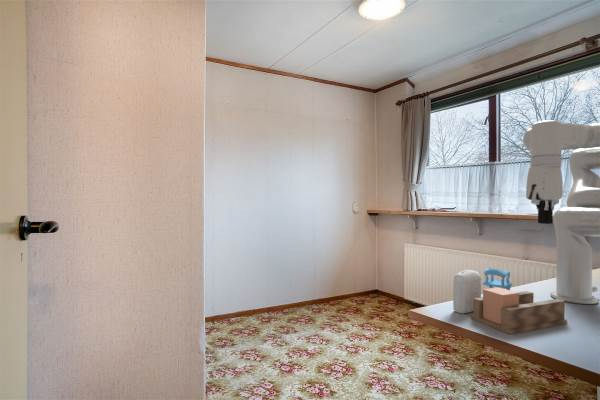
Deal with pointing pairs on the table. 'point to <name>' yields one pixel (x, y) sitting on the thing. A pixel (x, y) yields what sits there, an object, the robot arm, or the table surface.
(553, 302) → the chute
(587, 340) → the table surface
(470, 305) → the photo printer
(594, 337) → the table surface
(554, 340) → the table surface
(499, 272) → the chair
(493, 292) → the block
